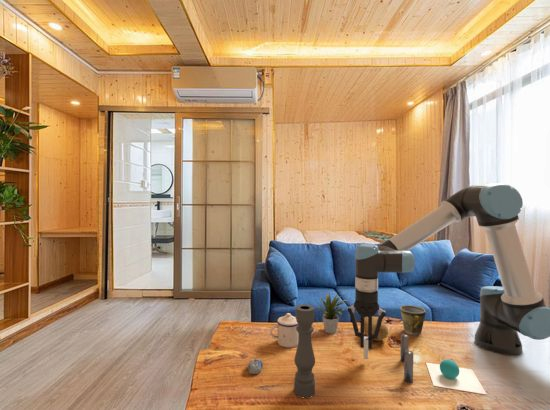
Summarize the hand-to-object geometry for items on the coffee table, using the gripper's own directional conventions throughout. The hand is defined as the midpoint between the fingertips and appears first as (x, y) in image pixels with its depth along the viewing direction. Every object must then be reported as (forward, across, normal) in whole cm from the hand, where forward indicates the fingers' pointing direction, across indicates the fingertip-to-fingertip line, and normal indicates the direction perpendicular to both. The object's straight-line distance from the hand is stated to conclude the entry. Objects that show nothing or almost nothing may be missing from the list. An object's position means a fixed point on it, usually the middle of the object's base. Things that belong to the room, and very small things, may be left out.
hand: (365, 356), depth 106 cm
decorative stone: (+3, -35, -16) cm, 39 cm away
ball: (0, +26, 0) cm, 26 cm away
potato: (+3, +3, +22) cm, 22 cm away
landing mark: (+2, +27, 0) cm, 27 cm away
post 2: (+2, +13, -6) cm, 15 cm away
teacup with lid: (+3, -31, +6) cm, 32 cm away
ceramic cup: (+3, +19, +32) cm, 37 cm away
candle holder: (+3, -17, -22) cm, 28 cm away
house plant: (+3, -15, +22) cm, 27 cm away
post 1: (+2, +13, +6) cm, 15 cm away
